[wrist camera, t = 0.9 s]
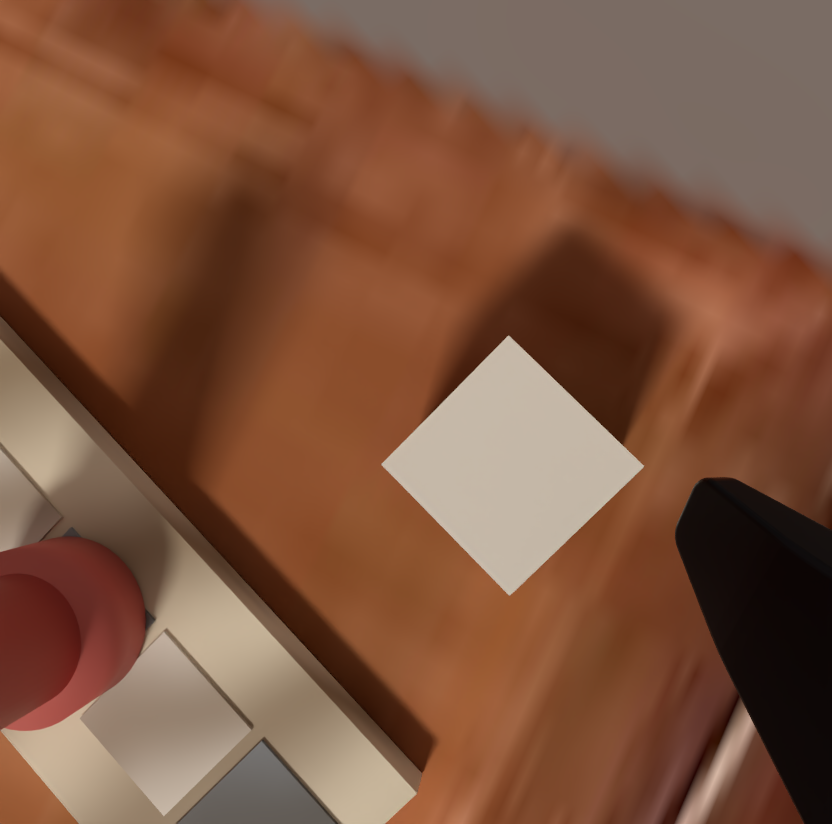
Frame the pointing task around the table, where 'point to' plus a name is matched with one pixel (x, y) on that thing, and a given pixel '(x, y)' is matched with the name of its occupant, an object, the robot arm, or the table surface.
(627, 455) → the white cube
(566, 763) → the table surface
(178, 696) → the track board
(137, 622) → the pawn
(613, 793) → the table surface
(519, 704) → the table surface
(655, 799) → the table surface
